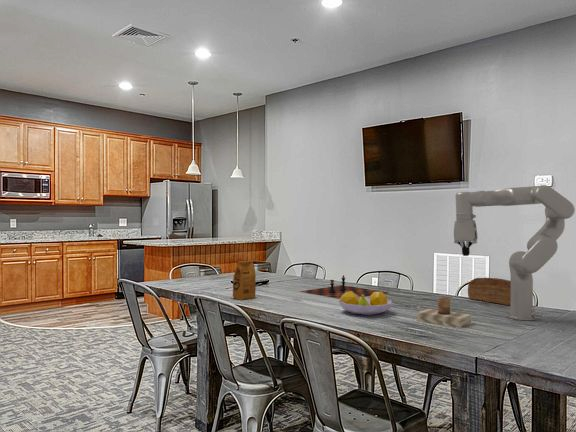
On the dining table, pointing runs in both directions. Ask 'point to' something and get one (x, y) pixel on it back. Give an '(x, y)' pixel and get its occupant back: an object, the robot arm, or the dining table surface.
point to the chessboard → (340, 290)
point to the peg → (443, 305)
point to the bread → (490, 290)
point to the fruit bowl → (365, 303)
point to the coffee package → (244, 281)
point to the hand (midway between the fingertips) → (465, 255)
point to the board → (444, 318)
